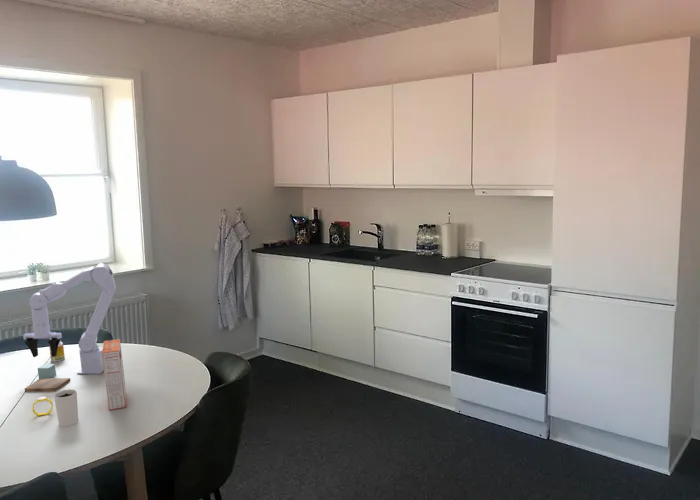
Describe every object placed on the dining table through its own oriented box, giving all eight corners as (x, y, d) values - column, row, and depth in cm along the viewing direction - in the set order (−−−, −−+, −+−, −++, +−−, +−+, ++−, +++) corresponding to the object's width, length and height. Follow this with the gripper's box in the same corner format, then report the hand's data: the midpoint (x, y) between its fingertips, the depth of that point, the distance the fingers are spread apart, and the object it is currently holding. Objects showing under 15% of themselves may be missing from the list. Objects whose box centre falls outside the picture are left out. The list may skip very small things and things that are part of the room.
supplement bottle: (67, 357, 255) (64, 336, 254) (60, 361, 250) (57, 340, 248) (55, 357, 256) (53, 336, 254) (48, 361, 250) (45, 340, 249)
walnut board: (70, 381, 227) (69, 378, 227) (56, 391, 217) (55, 388, 217) (40, 381, 228) (40, 378, 228) (24, 391, 218) (24, 388, 218)
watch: (33, 418, 195) (31, 401, 194) (33, 415, 197) (31, 398, 196) (53, 414, 197) (51, 397, 196) (53, 411, 200) (51, 394, 199)
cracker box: (108, 396, 211) (103, 340, 208) (126, 393, 213) (121, 338, 210) (107, 411, 198) (101, 352, 195) (126, 408, 200) (120, 349, 197)
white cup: (54, 422, 190) (50, 393, 189) (75, 416, 195) (72, 387, 194) (61, 429, 186) (57, 399, 184) (83, 422, 190) (79, 393, 189)
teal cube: (56, 374, 235) (54, 364, 234) (49, 378, 230) (48, 368, 230) (45, 374, 235) (44, 364, 234) (38, 379, 231) (37, 368, 230)
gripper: (64, 320, 233) (68, 352, 235) (29, 320, 233) (33, 353, 236) (54, 325, 226) (58, 358, 228) (18, 325, 227) (22, 359, 229)
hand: (44, 356), depth 231 cm, fingers open, 7 cm apart
